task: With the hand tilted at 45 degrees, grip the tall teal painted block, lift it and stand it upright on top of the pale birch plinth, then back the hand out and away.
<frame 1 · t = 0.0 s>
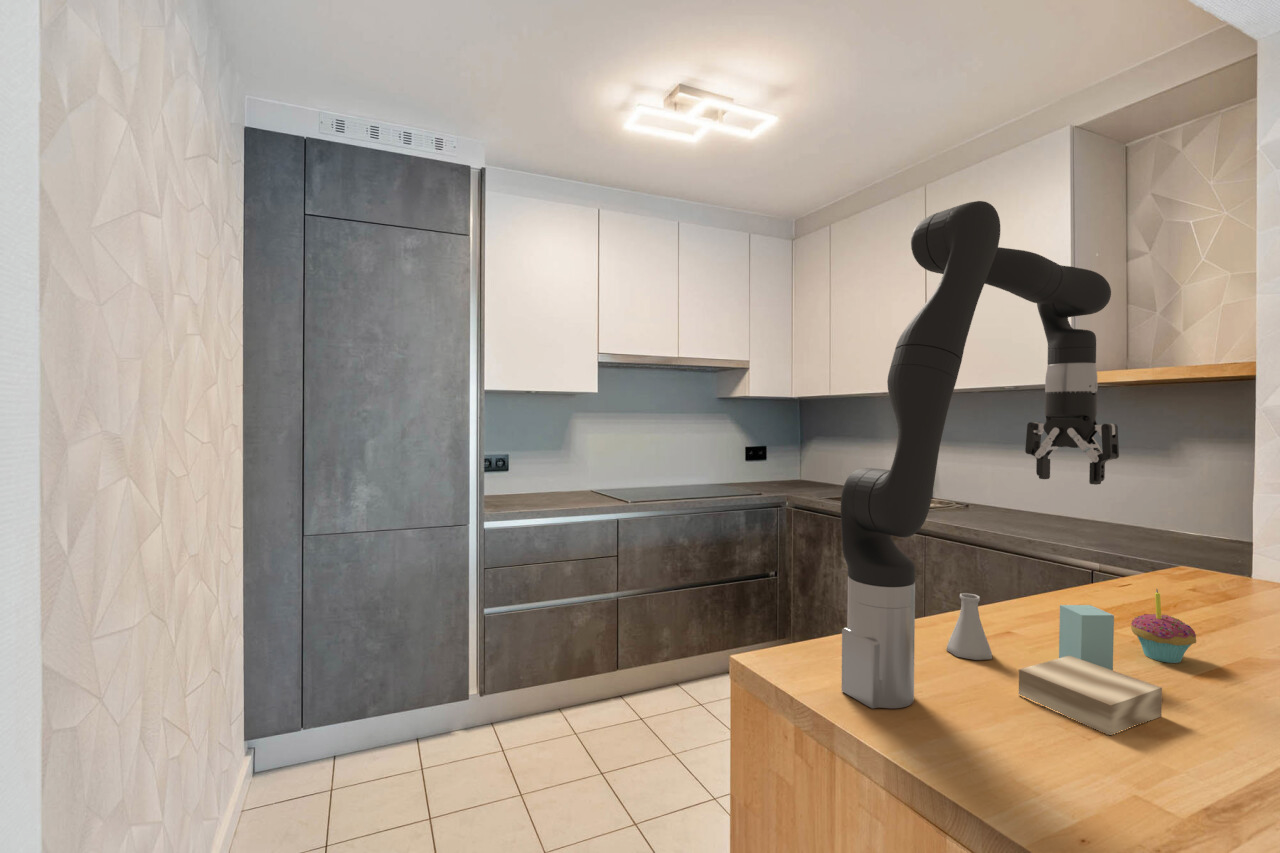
hand: (1069, 481, 108), 29 cm above the counter, tool pointing down, fingers open, 8 cm apart
flask: (968, 654, 105), on the counter
teal block: (1085, 671, 98), on the counter
birch plinth: (1087, 706, 86), on the counter
cupcake: (1161, 658, 104), on the counter
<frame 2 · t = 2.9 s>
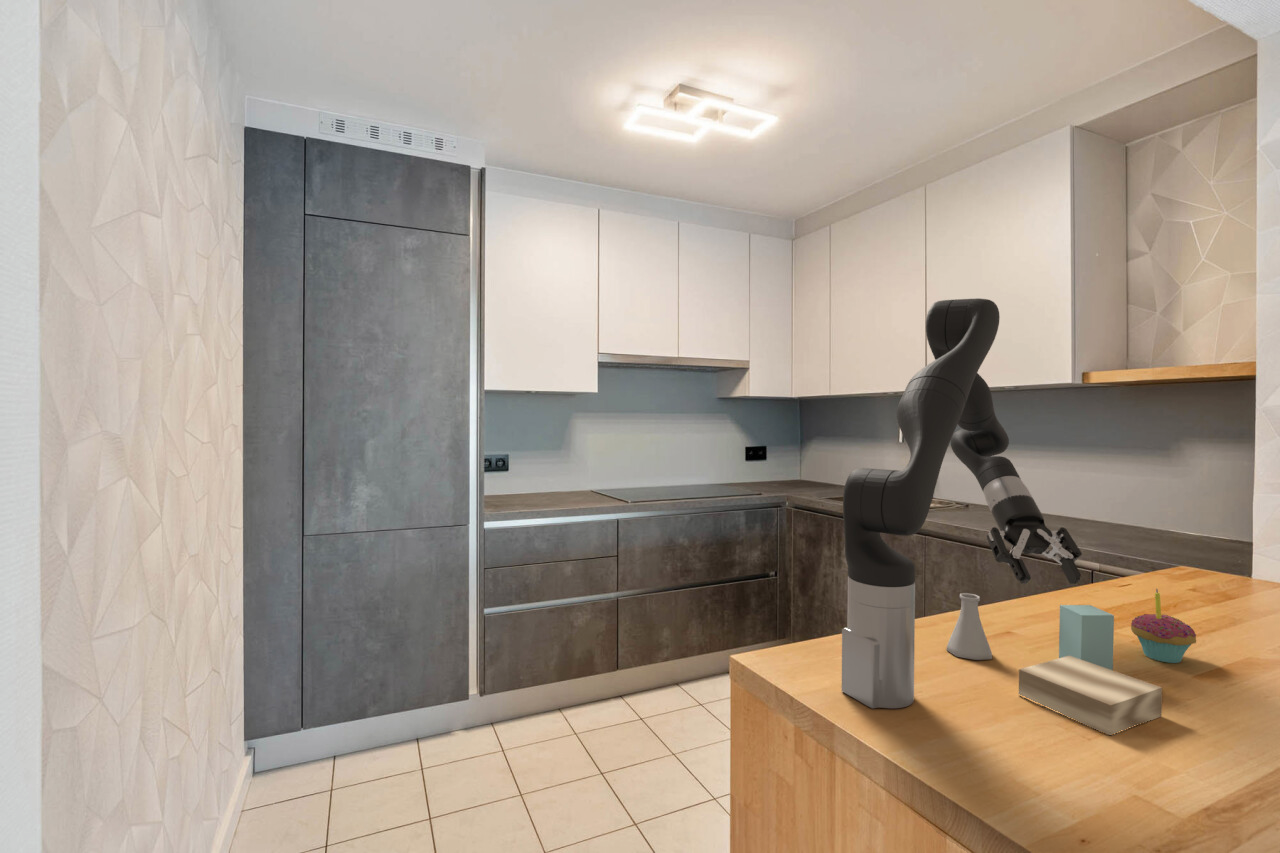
hand: (1051, 581, 106), 12 cm above the counter, tool tilted 45°, fingers open, 8 cm apart
nothing on the counter moved.
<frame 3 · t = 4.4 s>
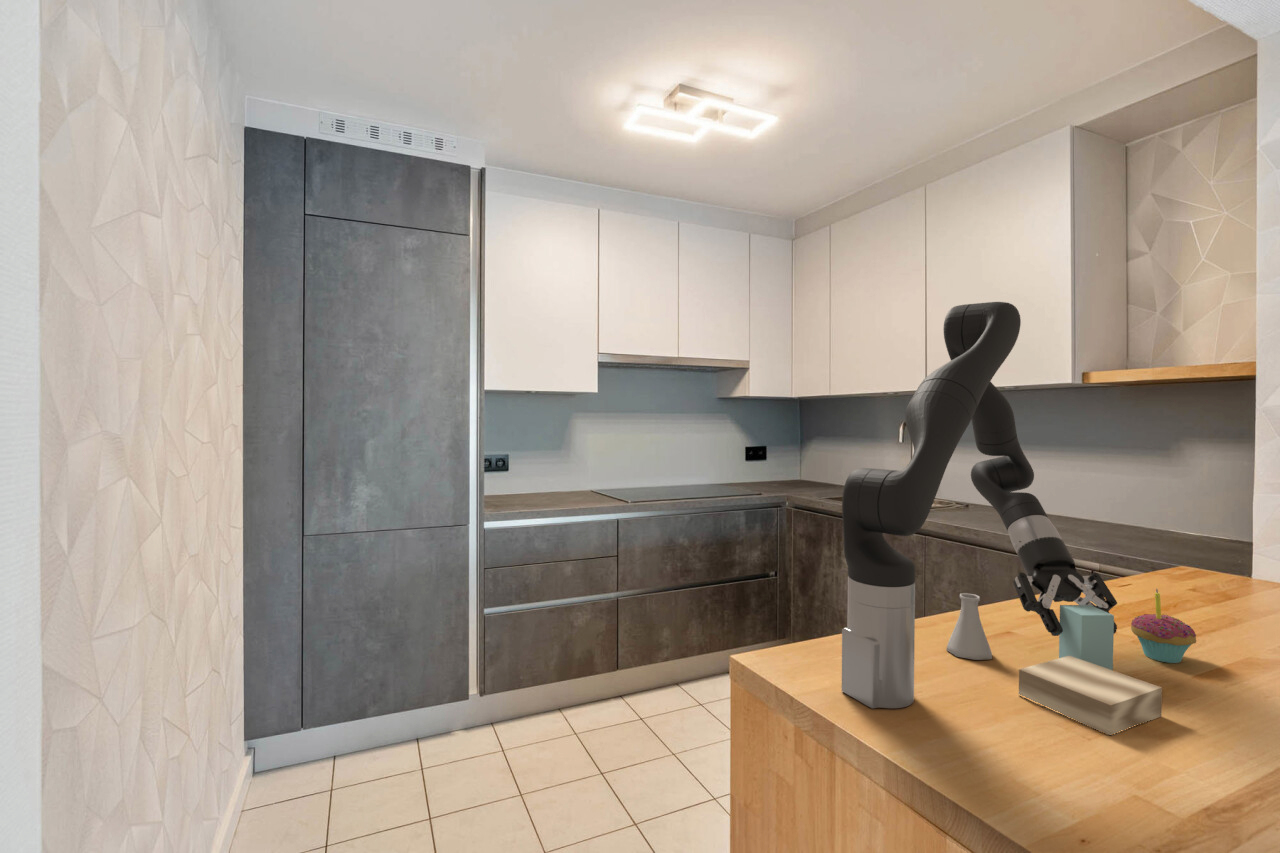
hand: (1084, 634, 98), 6 cm above the counter, tool tilted 45°, fingers open, 8 cm apart
nothing on the counter moved.
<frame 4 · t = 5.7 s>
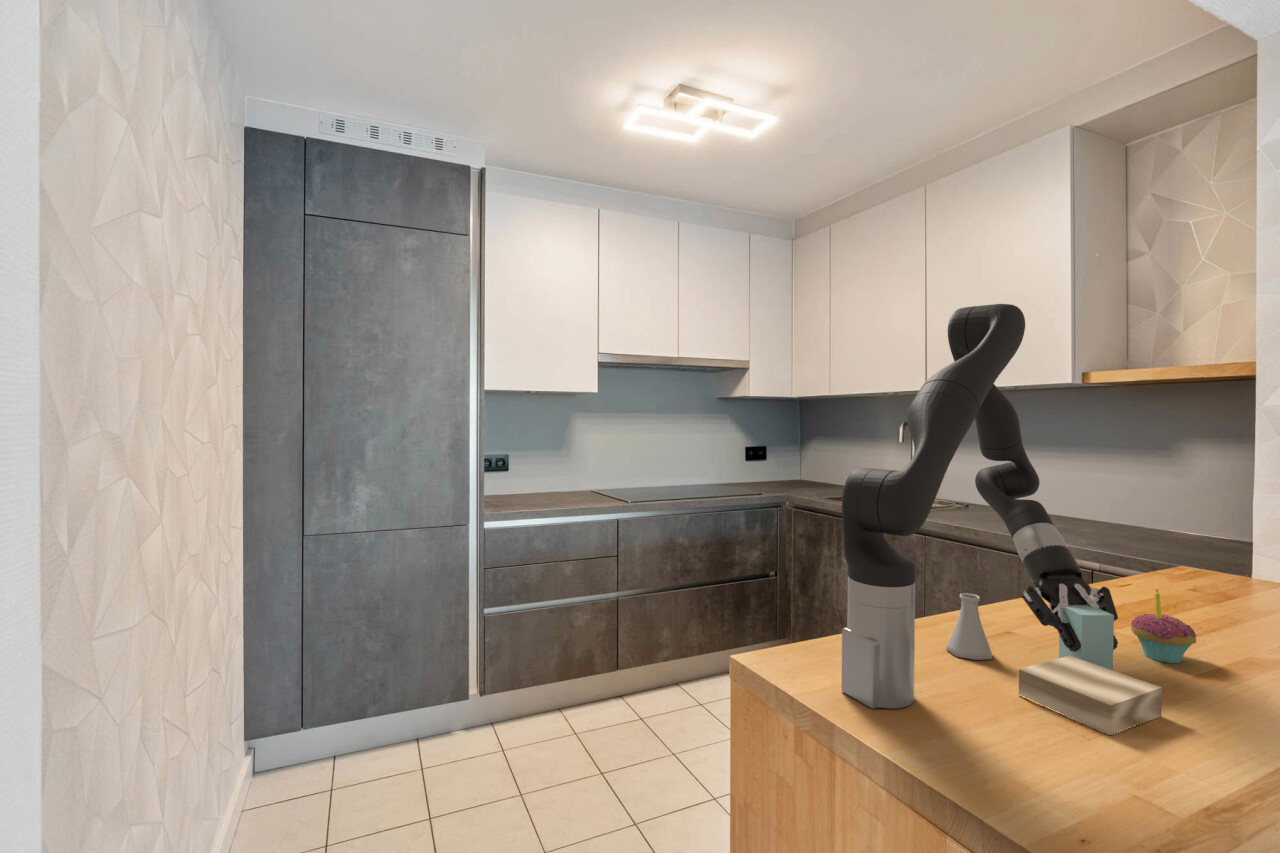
hand: (1094, 648, 96), 4 cm above the counter, tool tilted 45°, fingers closed on teal block, 5 cm apart
teal block: (1085, 671, 98), on the counter, touching gripper
everything else where it was.
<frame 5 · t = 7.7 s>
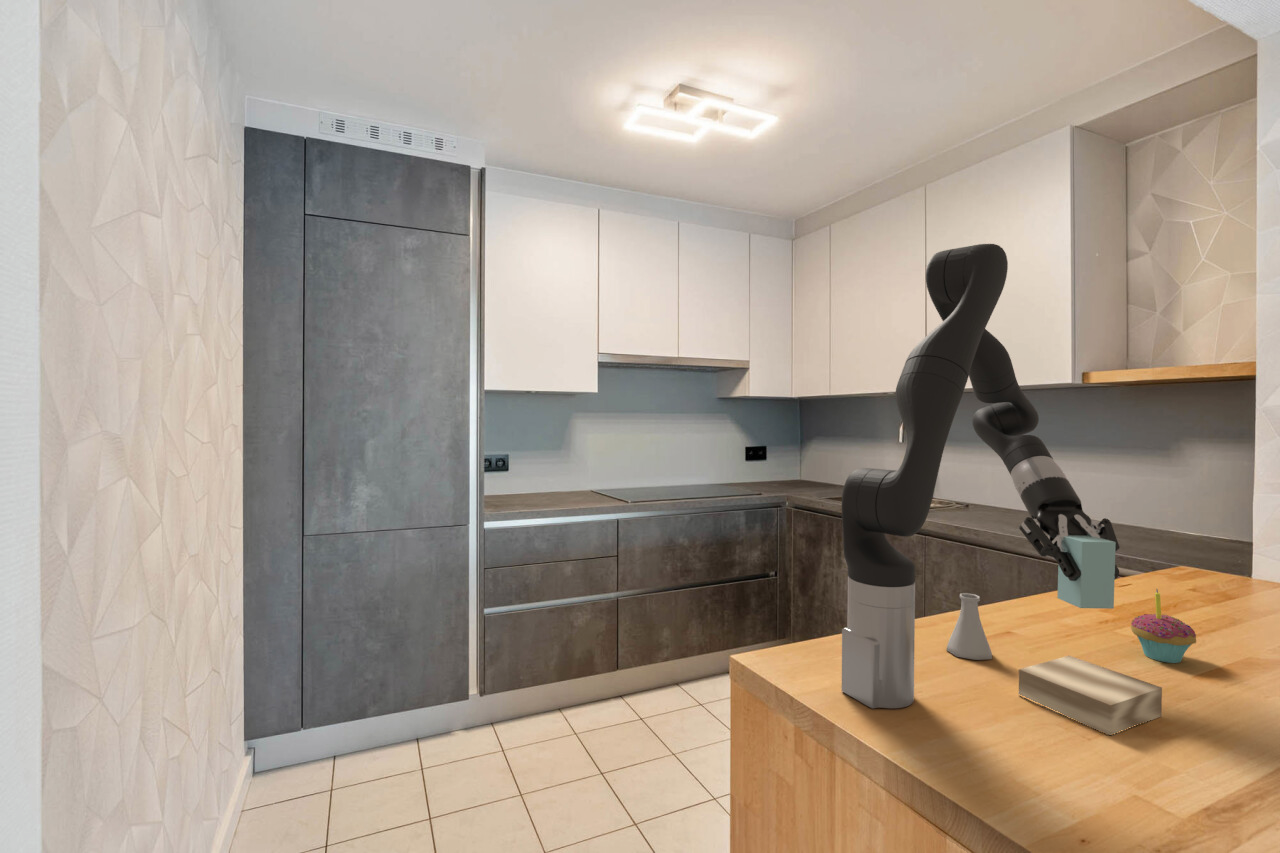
hand: (1094, 578, 92), 17 cm above the counter, tool tilted 45°, fingers closed on teal block, 5 cm apart
teal block: (1084, 603, 94), point 12 cm above the counter, touching gripper
everything else where it was.
when the fingers open (10 cm above the counter, at t = 10.1 s): teal block drops 1 cm, resting on birch plinth.
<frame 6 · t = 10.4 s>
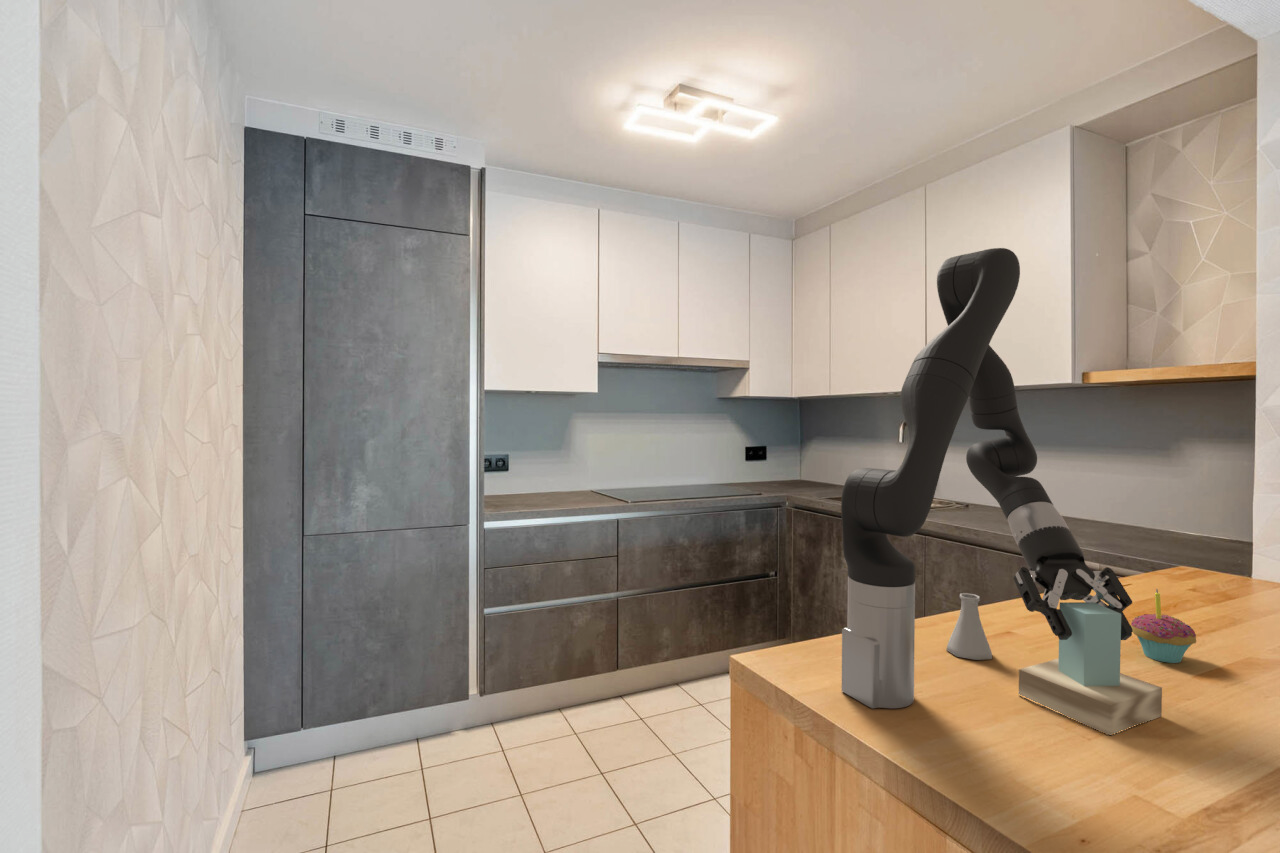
hand: (1096, 637, 85), 10 cm above the counter, tool tilted 45°, fingers open, 8 cm apart
teal block: (1088, 678, 86), point 4 cm above the counter, touching birch plinth
everything else where it was.
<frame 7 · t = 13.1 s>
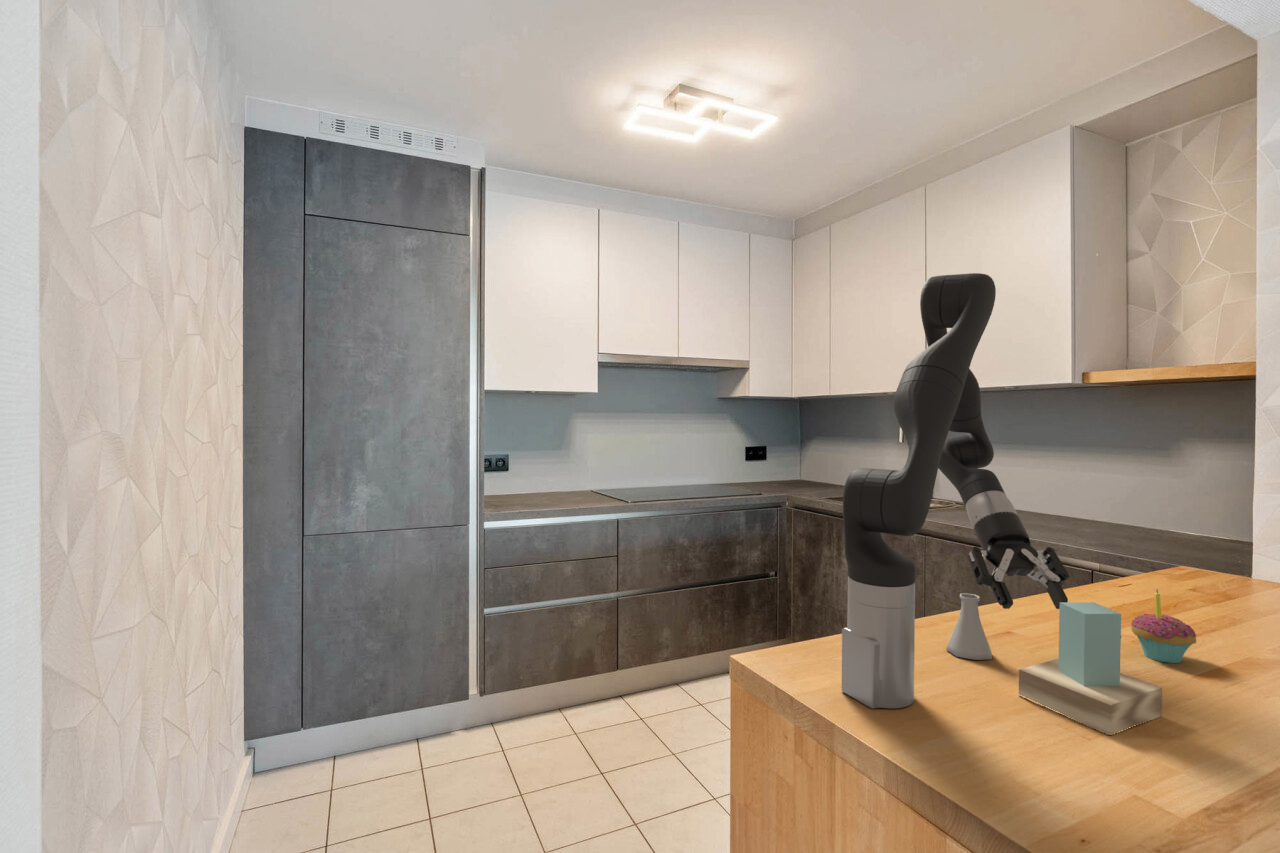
hand: (1035, 606, 98), 10 cm above the counter, tool tilted 45°, fingers open, 8 cm apart
nothing on the counter moved.
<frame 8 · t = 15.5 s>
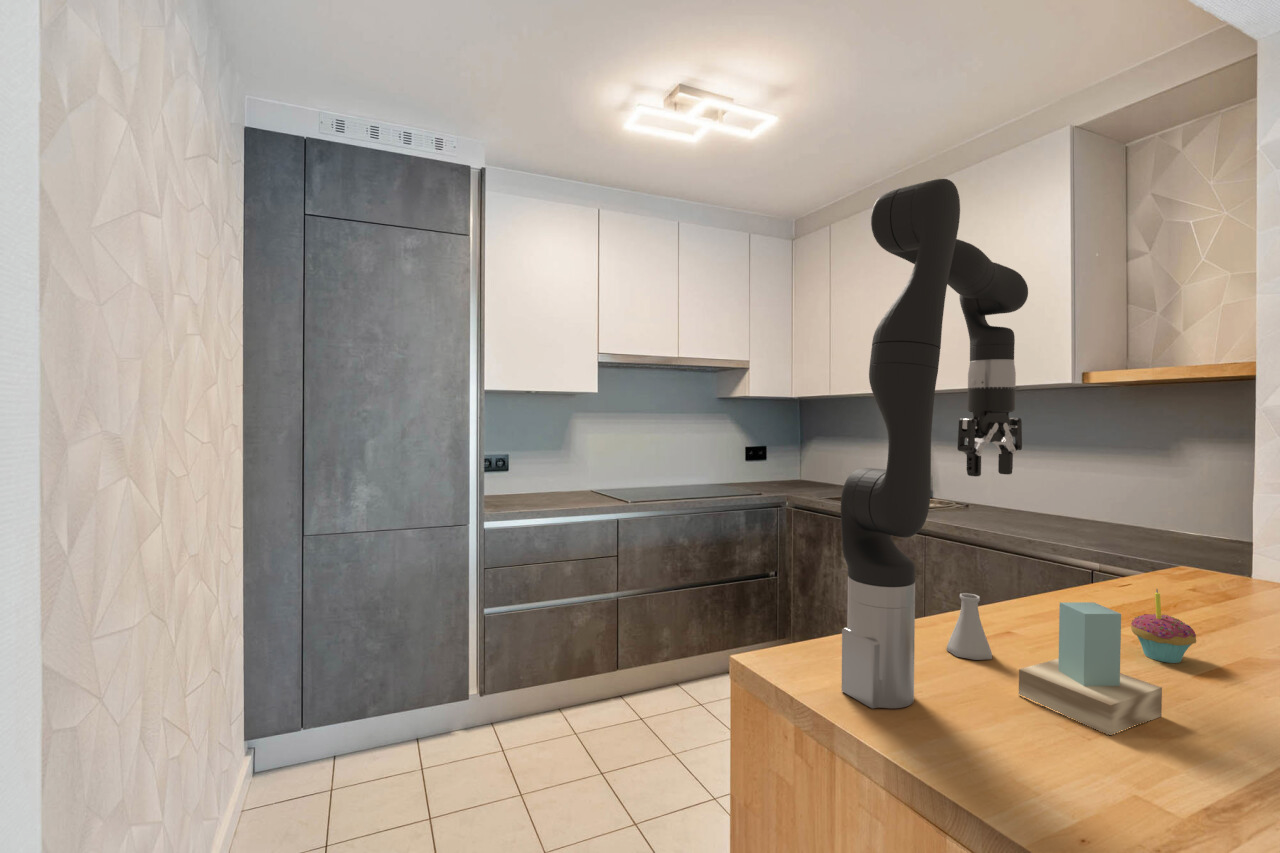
hand: (989, 475, 111), 30 cm above the counter, tool pointing down, fingers open, 8 cm apart
nothing on the counter moved.
at the end: teal block inside the target area on the birch plinth (0.1 cm from its centre), point 4.0 cm above the birch plinth's base; teal block tilted 0°; the gripper is holding nothing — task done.
